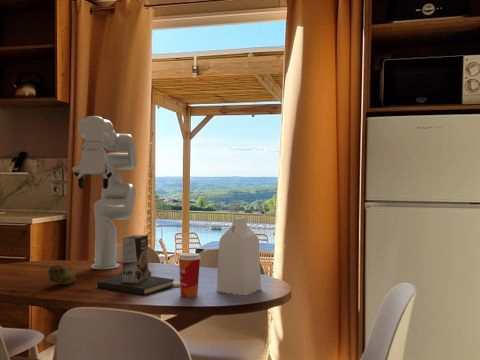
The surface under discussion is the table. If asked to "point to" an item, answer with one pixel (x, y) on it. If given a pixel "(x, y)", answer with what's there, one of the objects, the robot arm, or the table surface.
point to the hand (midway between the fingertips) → (93, 188)
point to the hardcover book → (136, 285)
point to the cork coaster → (176, 285)
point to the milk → (239, 260)
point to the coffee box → (135, 258)
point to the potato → (61, 274)
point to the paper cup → (189, 274)
